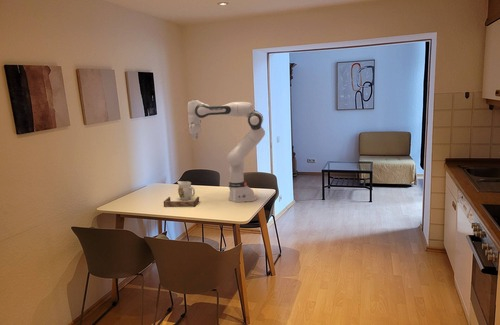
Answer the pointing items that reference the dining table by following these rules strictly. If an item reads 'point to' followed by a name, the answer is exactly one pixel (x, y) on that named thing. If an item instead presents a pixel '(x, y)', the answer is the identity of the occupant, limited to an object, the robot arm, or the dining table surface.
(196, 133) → the robot arm
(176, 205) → the tray
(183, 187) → the pitcher
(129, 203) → the dining table surface
